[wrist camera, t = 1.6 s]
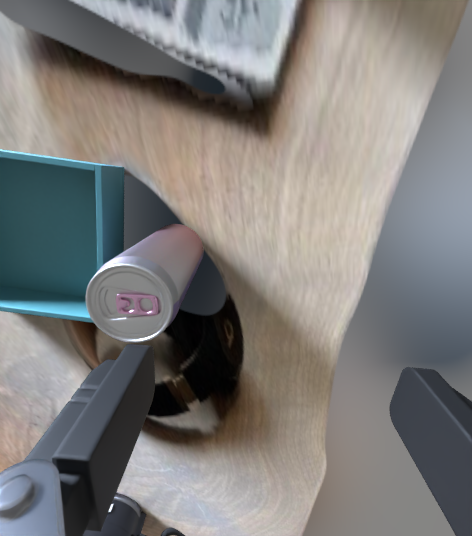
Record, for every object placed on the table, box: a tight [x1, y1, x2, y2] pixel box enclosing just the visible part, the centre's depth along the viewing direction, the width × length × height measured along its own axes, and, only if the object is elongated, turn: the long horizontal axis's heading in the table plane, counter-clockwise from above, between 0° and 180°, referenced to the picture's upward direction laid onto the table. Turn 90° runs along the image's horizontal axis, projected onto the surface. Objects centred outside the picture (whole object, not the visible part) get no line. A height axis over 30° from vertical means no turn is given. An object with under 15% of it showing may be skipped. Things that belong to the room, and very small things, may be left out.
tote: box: [0, 149, 124, 323], centre depth 29 cm, size 17×16×5 cm
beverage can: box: [86, 224, 203, 343], centre depth 24 cm, size 6×6×15 cm
